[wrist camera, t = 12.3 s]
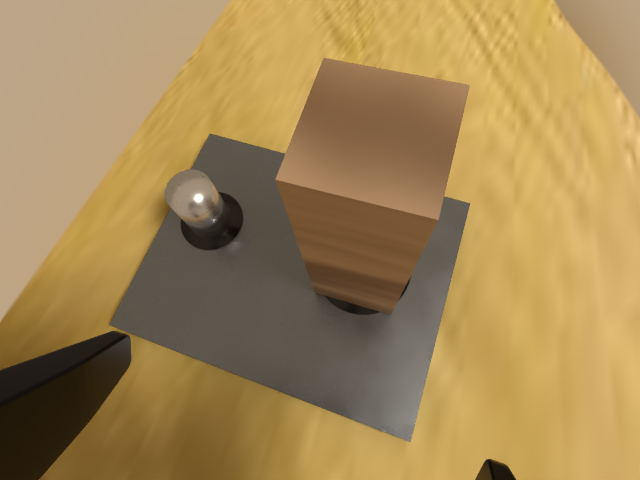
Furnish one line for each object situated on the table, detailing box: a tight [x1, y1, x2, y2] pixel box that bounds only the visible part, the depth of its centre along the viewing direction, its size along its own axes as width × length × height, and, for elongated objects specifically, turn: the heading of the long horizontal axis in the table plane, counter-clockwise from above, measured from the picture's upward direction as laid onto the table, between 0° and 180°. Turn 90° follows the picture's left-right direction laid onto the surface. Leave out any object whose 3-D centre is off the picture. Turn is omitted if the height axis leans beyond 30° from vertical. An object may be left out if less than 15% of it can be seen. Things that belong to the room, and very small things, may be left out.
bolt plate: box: [109, 134, 470, 442], centre depth 23 cm, size 14×18×5 cm
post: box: [275, 58, 470, 315], centre depth 17 cm, size 4×4×13 cm
